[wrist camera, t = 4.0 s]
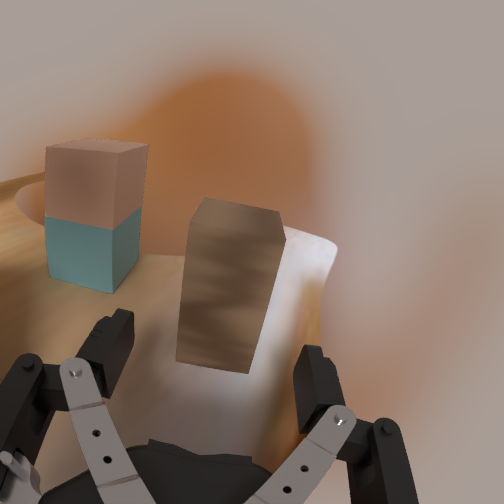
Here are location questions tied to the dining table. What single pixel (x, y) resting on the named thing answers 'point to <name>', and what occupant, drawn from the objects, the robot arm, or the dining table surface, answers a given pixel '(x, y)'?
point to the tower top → (94, 181)
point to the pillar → (227, 283)
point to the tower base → (92, 252)
